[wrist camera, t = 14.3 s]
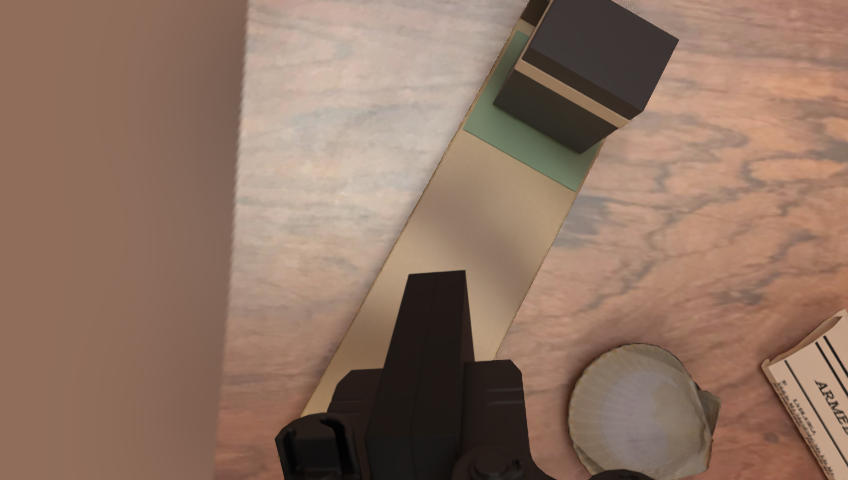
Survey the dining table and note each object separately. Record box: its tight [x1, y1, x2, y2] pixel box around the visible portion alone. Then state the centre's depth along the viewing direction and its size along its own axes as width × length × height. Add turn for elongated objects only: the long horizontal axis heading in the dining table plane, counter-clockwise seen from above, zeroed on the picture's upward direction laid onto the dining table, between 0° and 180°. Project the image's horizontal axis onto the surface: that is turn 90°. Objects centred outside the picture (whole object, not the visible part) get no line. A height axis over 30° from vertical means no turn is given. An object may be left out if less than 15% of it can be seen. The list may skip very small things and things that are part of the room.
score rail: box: [278, 0, 607, 460], centre depth 34 cm, size 30×8×4 cm, turn 152°
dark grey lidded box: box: [493, 0, 679, 154], centre depth 32 cm, size 4×6×8 cm
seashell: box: [567, 343, 721, 480], centre depth 34 cm, size 8×3×8 cm
